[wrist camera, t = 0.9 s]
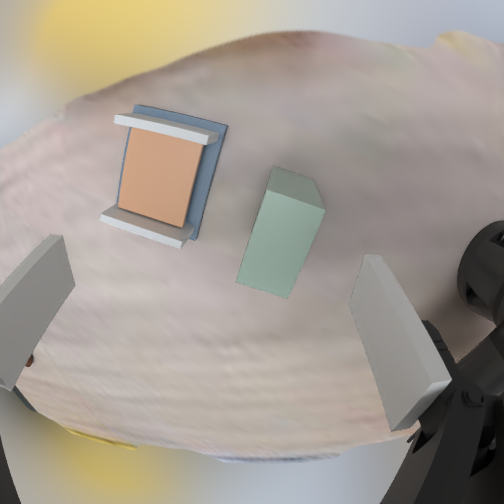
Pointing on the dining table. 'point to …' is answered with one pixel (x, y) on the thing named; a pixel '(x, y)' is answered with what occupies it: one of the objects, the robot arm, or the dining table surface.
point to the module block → (282, 233)
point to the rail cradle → (212, 141)
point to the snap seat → (159, 175)
